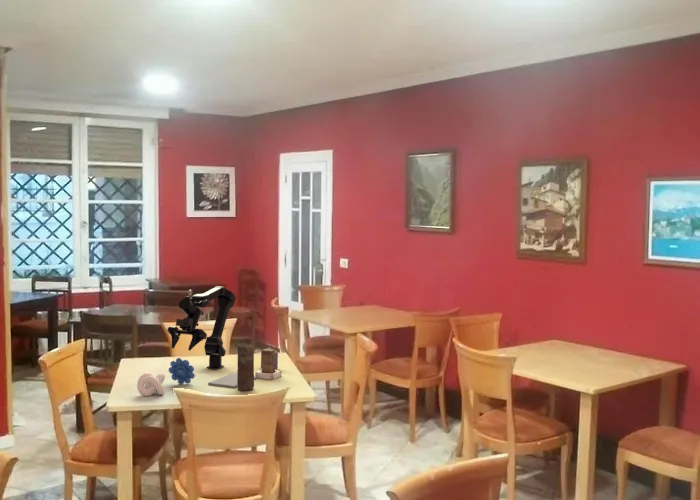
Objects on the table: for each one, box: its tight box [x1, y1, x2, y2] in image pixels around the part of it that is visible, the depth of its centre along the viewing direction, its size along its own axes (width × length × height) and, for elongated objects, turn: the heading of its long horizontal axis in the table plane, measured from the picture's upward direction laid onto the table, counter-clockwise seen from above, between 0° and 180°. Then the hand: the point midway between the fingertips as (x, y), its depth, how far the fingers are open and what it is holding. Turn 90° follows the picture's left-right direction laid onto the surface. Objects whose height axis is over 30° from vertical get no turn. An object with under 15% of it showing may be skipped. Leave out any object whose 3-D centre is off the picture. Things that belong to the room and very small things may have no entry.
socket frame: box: [254, 369, 282, 380], centre depth 331 cm, size 8×9×2 cm
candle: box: [236, 343, 255, 392], centre depth 308 cm, size 8×7×20 cm
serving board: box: [207, 372, 259, 389], centre depth 322 cm, size 20×14×1 cm
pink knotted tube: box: [136, 372, 166, 397], centre depth 298 cm, size 11×12×9 cm
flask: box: [260, 347, 279, 370], centre depth 348 cm, size 9×3×11 cm, turn 68°
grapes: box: [168, 357, 196, 385], centre depth 314 cm, size 12×7×12 cm, turn 95°
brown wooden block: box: [261, 348, 276, 374], centre depth 331 cm, size 4×5×13 cm
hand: (180, 349), depth 321 cm, fingers open, 9 cm apart
